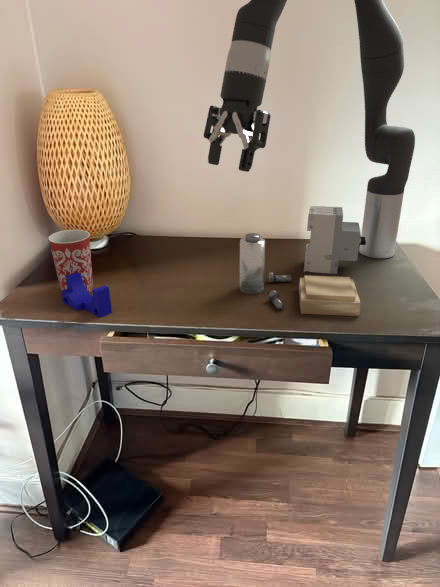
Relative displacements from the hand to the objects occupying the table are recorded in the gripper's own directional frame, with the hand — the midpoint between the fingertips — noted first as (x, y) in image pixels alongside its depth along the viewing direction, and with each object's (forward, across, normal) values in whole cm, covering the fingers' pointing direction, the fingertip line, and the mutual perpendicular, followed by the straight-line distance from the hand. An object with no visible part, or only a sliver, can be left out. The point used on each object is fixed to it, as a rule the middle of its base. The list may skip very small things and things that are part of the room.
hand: (227, 167), depth 88 cm
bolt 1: (+24, +3, -27) cm, 36 cm away
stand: (+24, -12, -26) cm, 38 cm away
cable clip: (+35, +21, +13) cm, 43 cm away
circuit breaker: (+20, 0, -43) cm, 47 cm away
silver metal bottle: (+26, +4, -19) cm, 33 cm away
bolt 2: (+27, -6, -17) cm, 32 cm away
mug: (+34, +33, +10) cm, 48 cm away
